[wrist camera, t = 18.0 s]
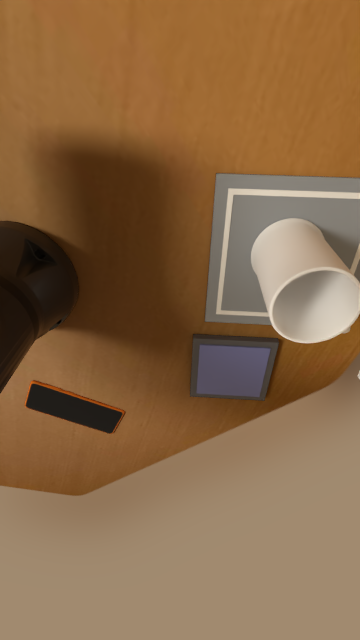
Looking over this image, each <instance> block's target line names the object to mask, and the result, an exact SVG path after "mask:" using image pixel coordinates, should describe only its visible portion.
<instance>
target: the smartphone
mask: <svg viewBox="0 0 360 640" xmlns="http://www.w3.org/2000/svg"><path fill="white" fill-rule="evenodd" d="M25 407H26V408H29V409H32V410H35V411H38V412H41V413H45V414H48V415H51V416H54V417H57V418H61V419H64V420H67V421H70V422H73V423H77V424H80V425H83V426H86V427H89V428H93V429H96V430H99V431H102V432H105V433H109V434H113V433H114V431H115V429H116V427H117V426H118V424H119V422H120V420H121V419H122V417H123V415H124V413H125V412H124V410H121V409H118V408H115V407H112V406H109V405H106V404H103V403H101V402H98V401H95V400H92V399H89V398H86V397H83V396H80V395H77V394H74V393H72V392H69V391H65V390H62V389H60V388H57V387H54V386H51V385H48V384H44V383H41V382H38V381H35V380H33V381H31V383H30V387H29V390H28V394H27V398H26V402H25Z"/></svg>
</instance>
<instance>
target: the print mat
mask: <svg viewBox="0 0 360 640" xmlns="http://www.w3.org/2000/svg"><path fill="white" fill-rule="evenodd" d="M289 218H299V219H304V220H307V221H309V222H311V223H313V224H314V225H316V226H317V227H318V228H319V229H320V231H321V232H322V234H323V236H324V239H325V241H326V242H327V243H328V244H329V246H330V247H331V248H332V249H333V250H334V252H335V253H336V254H337V255H338V256H339V258H340V259H341V260H342V261H343V263H344V264H345V265H346V266H347V267H348V269H349V270H350V271H351V272H352V274H353V275H354V276H355V277H356V278H357V280H358V281H359V283H360V178H348V177H317V176H286V175H256V174H225V173H216V184H215V197H214V210H213V223H212V236H211V249H210V261H209V274H208V287H207V300H206V313H205V322H223V323H243V324H263V325H272V323H271V321H270V318H269V315H268V311H267V308H266V304H265V301H264V298H263V294H262V291H261V287H260V284H259V281H258V277H257V275H256V273H255V272H254V270H253V267H252V264H251V251H252V247H253V244H254V242H255V240H256V239H257V237H258V236H259V235H260V233H261V232H262V231H263V230H264V229H266V228H267V227H268V226H270V225H271V224H273V223H275V222H277V221H280V220H283V219H289Z"/></svg>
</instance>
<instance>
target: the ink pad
mask: <svg viewBox="0 0 360 640" xmlns="http://www.w3.org/2000/svg"><path fill="white" fill-rule="evenodd" d="M278 345H279V341H278V338H261V337H241V336H222V335H202V334H193V350H192V369H191V387H190V396H193V397H210V398H227V399H245V400H262V401H265V397H266V393H267V389H268V385H269V381H270V377H271V373H272V369H273V365H274V361H275V357H276V353H277V349H278Z"/></svg>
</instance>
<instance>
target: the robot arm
mask: <svg viewBox="0 0 360 640" xmlns="http://www.w3.org/2000/svg"><path fill="white" fill-rule="evenodd" d="M78 292H79V286H78V279H77V275H76V272H75V269H74V267H73V265H72V263H71V261H70V260H69V258H68V257H67V255H66V254H65V253H64V251H63V250H62V249H61V248H60V247H59V246H58V245H57V244H56V243H55V242H54V241H53V240H51V239H50V238H49V237H47V236H46V235H44V234H43V233H41V232H39V231H38V230H36V229H34V228H31V227H29V226H26V225H24V224H20V223H16V222H10V221H0V393H1V392H2V390H3V389H4V387H5V386H6V384H7V382H8V381H9V379H10V378H11V376H12V375H13V373H14V372H15V370H16V369H17V367H18V366H19V364H20V362H21V361H22V359H23V358H24V356H25V355H26V353H27V352H28V350H29V349H30V347H31V346H32V344H33V343H34V341H35V340H36V339H38V338H40V337H41V336H43V335H44V334H46V333H47V332H48V331H50V330H52V329H54V328H56V327H57V326H59V325H60V324H61V323H62V322H63V321H64V320H65V319H66V318H67V317H68V315H69V314H70V312H71V311H72V309H73V307H74V306H75V304H76V301H77V298H78ZM358 377H359V379H360V371H359V373H358Z"/></svg>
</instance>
